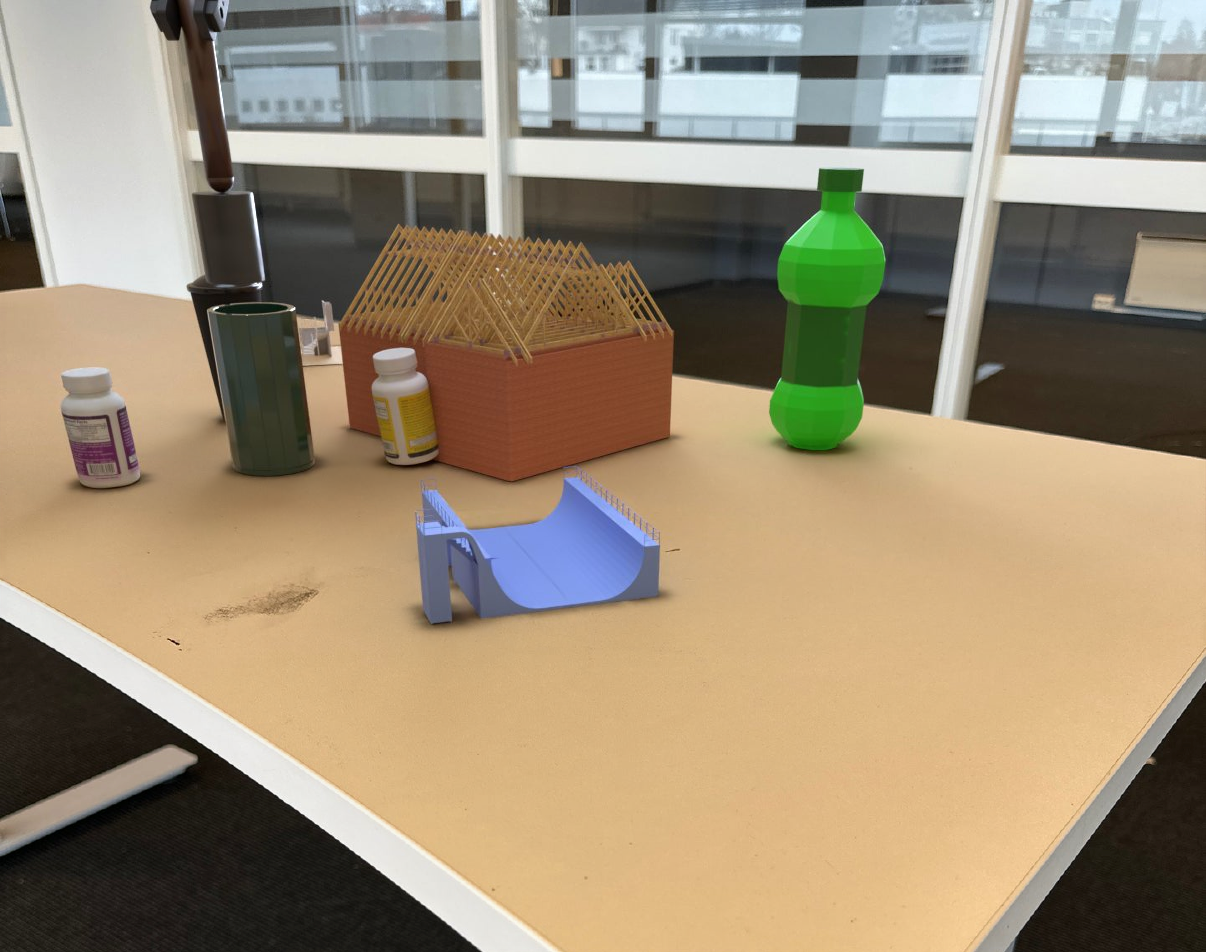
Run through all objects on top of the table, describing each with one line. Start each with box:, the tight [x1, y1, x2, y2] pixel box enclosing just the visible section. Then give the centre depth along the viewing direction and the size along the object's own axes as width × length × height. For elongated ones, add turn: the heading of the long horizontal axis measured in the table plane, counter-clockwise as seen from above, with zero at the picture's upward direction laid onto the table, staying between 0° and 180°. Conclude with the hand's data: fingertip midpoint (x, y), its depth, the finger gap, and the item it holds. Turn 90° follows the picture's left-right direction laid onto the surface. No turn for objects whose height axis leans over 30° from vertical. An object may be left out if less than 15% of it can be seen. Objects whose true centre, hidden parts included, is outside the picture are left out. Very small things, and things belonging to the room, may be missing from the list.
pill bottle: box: [60, 366, 141, 489], centre depth 100 cm, size 5×5×10 cm
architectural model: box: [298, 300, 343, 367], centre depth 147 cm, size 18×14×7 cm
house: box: [338, 223, 675, 482], centre depth 114 cm, size 28×23×19 cm
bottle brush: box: [177, 0, 266, 285], centre depth 81 cm, size 4×4×20 cm
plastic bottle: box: [768, 167, 886, 451], centre depth 110 cm, size 10×10×25 cm
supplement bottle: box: [372, 348, 439, 466], centre depth 107 cm, size 5×5×10 cm
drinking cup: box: [186, 274, 264, 422], centre depth 119 cm, size 8×8×20 cm
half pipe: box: [414, 465, 661, 626], centre depth 83 cm, size 18×16×7 cm
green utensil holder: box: [207, 301, 315, 477], centre depth 104 cm, size 8×8×14 cm
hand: (185, 29), depth 76 cm, fingers closed on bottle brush, 2 cm apart
